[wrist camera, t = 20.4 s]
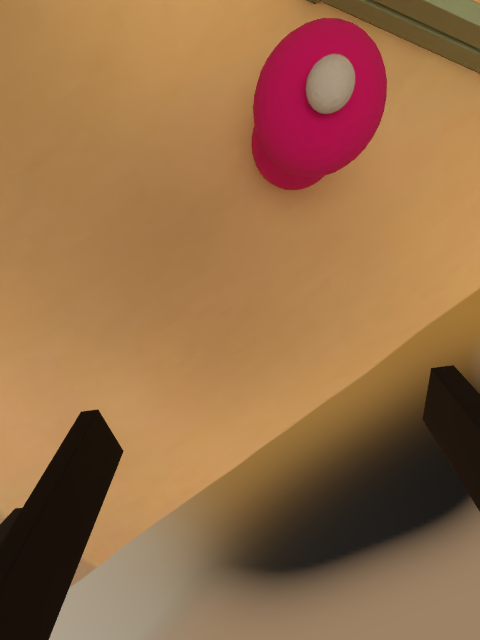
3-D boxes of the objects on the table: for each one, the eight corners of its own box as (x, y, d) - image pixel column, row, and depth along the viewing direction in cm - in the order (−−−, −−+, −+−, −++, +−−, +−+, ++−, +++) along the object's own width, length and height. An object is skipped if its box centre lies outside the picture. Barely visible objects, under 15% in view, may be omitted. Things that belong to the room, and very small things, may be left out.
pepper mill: (272, 203, 31) (281, 223, 13) (240, 129, 29) (194, 23, 10) (341, 166, 29) (468, 128, 11) (313, 85, 27) (413, -139, 8)
